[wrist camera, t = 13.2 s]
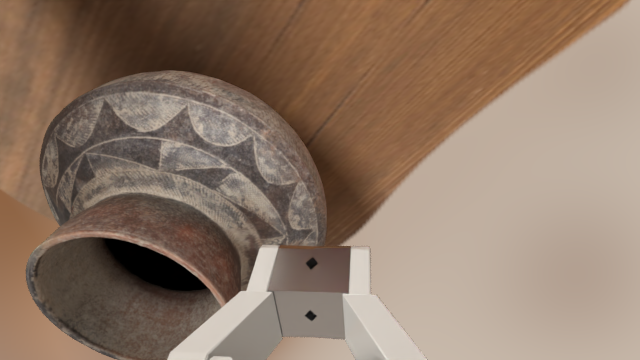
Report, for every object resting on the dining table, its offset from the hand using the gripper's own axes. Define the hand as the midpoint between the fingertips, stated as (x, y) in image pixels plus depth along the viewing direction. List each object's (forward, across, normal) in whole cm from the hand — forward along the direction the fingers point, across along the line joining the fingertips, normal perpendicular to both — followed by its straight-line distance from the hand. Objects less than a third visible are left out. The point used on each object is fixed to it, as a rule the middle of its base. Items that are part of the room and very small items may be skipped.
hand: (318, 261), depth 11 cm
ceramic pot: (+31, +14, +13) cm, 37 cm away
